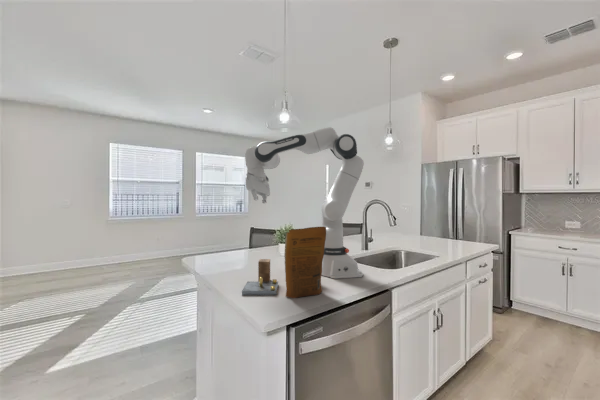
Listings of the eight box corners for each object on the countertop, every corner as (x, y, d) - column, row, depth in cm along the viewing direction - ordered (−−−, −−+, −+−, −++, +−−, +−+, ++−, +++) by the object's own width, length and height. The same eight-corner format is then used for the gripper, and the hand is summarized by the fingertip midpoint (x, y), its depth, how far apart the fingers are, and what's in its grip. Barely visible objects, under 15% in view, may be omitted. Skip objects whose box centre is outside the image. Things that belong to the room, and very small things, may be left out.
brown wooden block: (270, 279, 133) (270, 259, 133) (269, 282, 128) (269, 261, 128) (259, 279, 133) (259, 259, 133) (258, 283, 128) (258, 261, 128)
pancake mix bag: (330, 294, 113) (330, 226, 112) (286, 301, 106) (286, 229, 105) (322, 289, 119) (322, 225, 119) (280, 295, 112) (280, 227, 111)
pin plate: (278, 285, 124) (278, 273, 124) (276, 295, 112) (276, 281, 112) (247, 285, 124) (247, 273, 124) (241, 295, 112) (241, 281, 112)
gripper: (252, 169, 133) (256, 196, 130) (270, 179, 152) (274, 203, 149) (240, 173, 135) (244, 199, 132) (259, 182, 154) (263, 206, 151)
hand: (260, 201), depth 140 cm, fingers open, 8 cm apart
